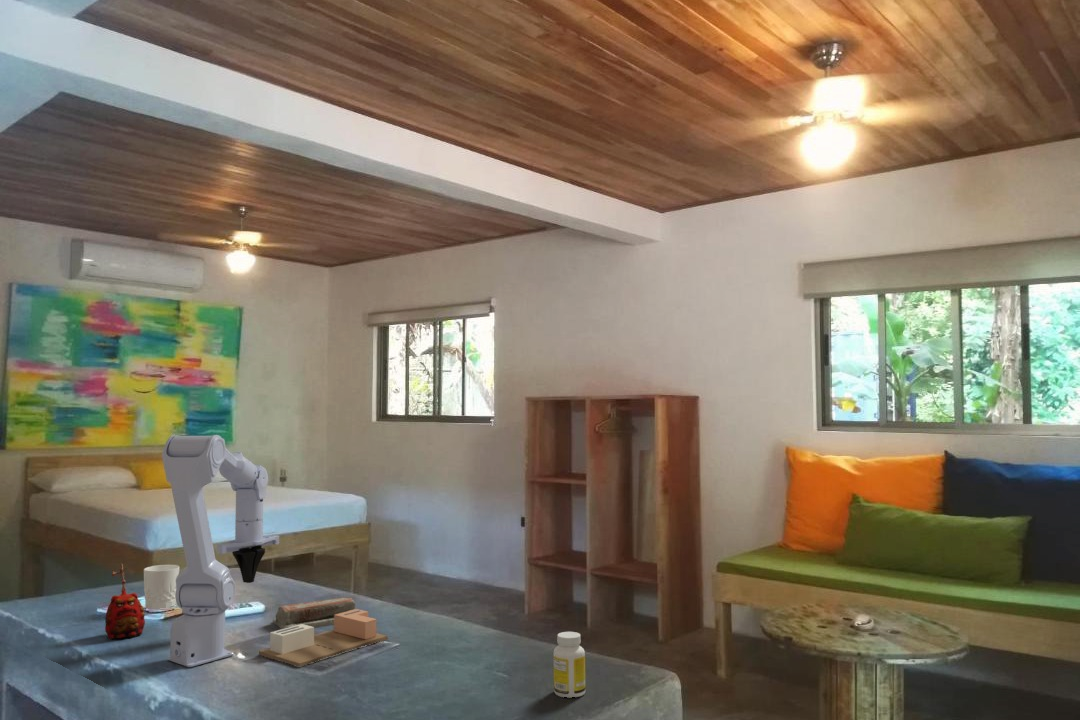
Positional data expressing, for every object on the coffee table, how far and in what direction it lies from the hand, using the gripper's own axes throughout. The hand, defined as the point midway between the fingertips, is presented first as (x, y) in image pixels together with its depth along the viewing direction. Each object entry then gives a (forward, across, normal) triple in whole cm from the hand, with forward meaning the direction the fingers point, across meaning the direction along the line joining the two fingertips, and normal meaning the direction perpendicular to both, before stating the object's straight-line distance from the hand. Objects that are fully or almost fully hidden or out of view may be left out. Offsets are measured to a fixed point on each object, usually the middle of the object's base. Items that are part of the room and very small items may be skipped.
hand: (248, 582), depth 177 cm
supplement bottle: (+11, +7, -79) cm, 80 cm away
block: (+9, +10, -24) cm, 28 cm away
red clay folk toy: (+11, -17, +19) cm, 28 cm away
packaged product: (+11, +14, -7) cm, 19 cm away
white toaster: (+10, -4, -21) cm, 24 cm away
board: (+10, +1, -24) cm, 26 cm away
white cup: (+11, -1, +33) cm, 35 cm away
